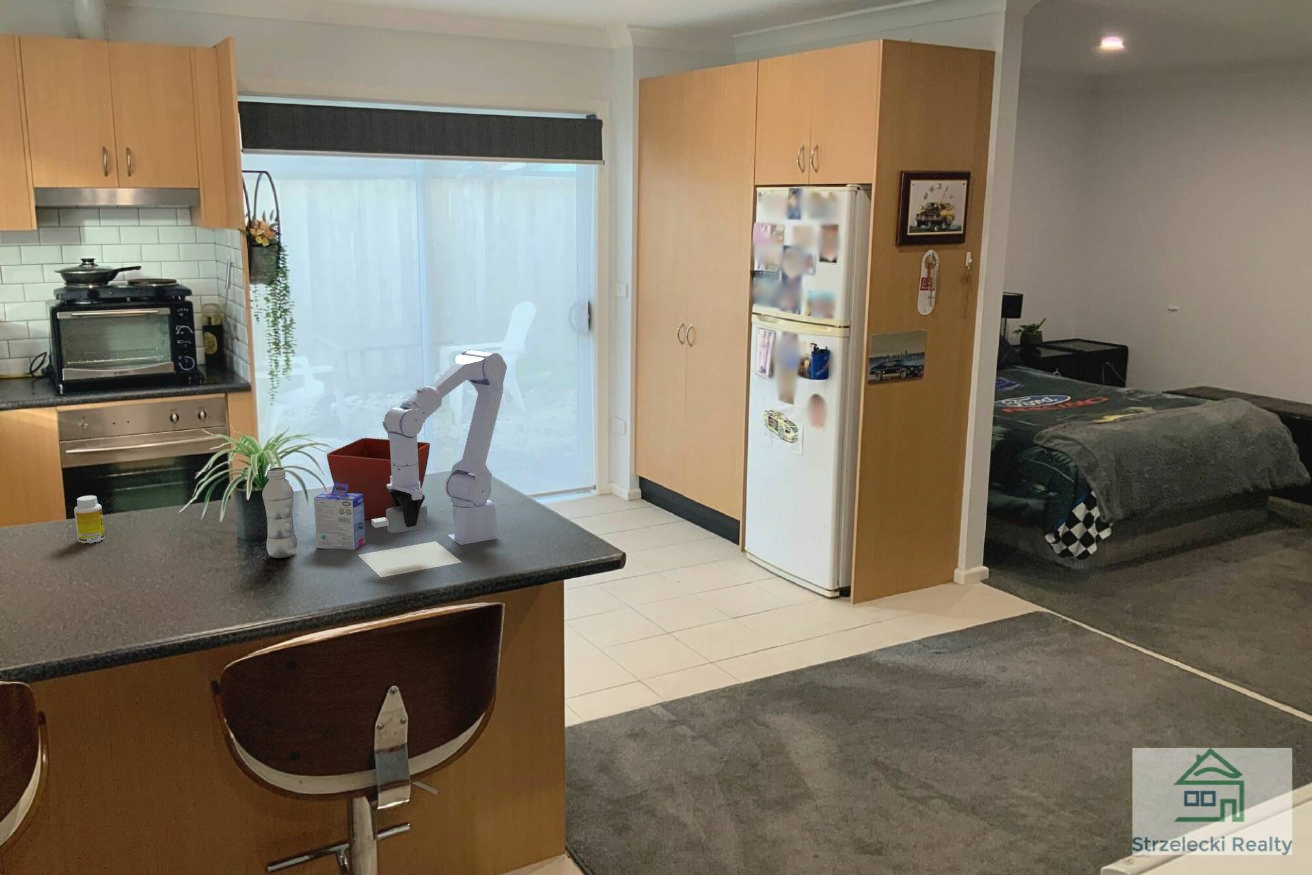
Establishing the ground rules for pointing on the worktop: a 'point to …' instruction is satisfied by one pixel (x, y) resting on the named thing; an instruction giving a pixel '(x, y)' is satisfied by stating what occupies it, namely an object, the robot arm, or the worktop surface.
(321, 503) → the ink cartridge box
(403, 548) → the mat
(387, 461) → the plant pot
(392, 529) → the plug
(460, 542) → the robot arm
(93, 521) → the supplement bottle
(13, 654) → the worktop surface
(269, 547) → the plastic bottle
